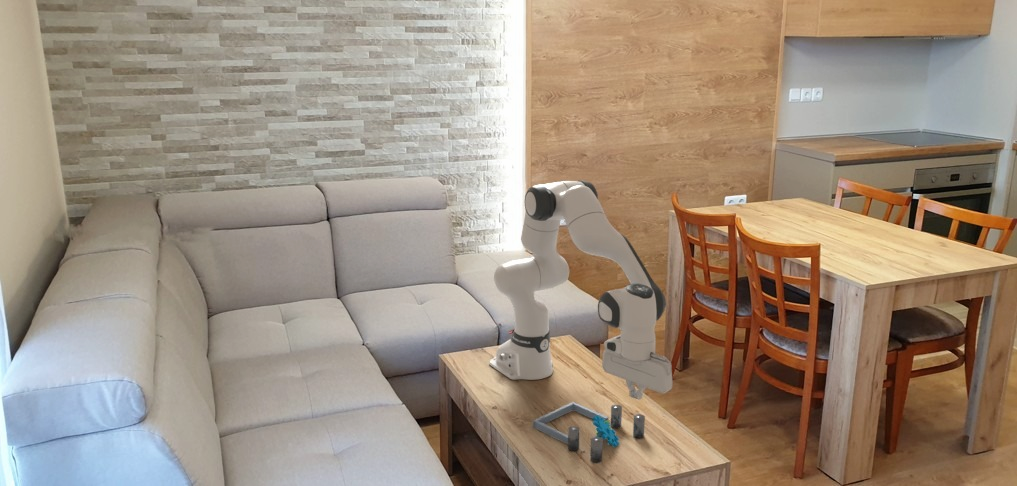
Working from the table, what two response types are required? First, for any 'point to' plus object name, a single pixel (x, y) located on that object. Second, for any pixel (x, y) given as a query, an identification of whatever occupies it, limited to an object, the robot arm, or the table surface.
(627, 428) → the table surface
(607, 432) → the gear
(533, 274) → the robot arm
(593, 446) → the spacer posts
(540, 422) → the u-shaped bent rod
